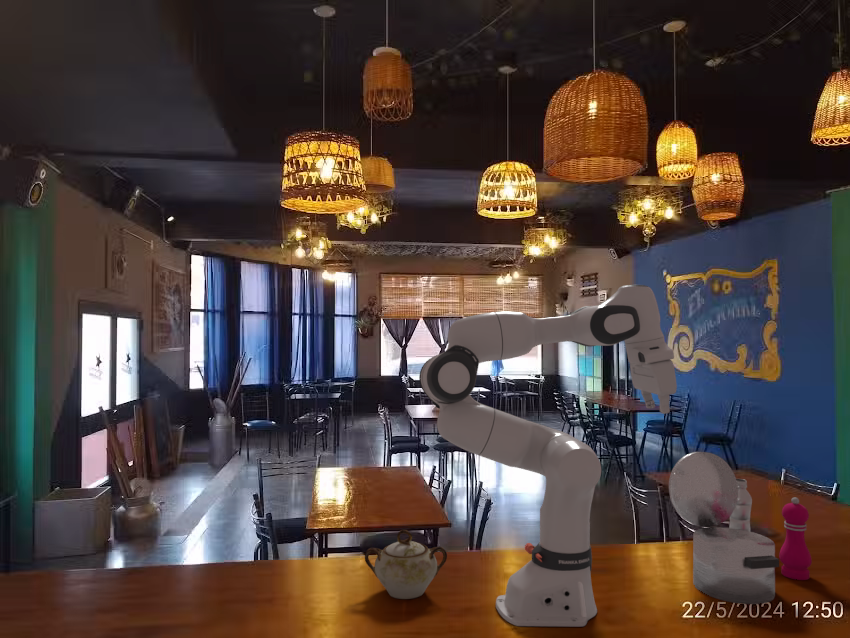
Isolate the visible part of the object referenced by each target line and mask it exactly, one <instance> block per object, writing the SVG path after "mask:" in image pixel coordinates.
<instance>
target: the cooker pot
mask: <svg viewBox="0 0 850 638" xmlns="http://www.w3.org/2000/svg"><path fill="white" fill-rule="evenodd" d="M750 531H751V530H750ZM750 531H745V530H740V529H733V528H729V527H719V526H718V527H717V526H712V527H699V529H697V530H695V531H694V532H693V535H692V536H693V537H692V539H693V540H692V543H693V544H692V546H693V548H692V550H693V551H692V552H693V553H692V557H693V558H692V560H693V561H692V562H693V565H692V566H693V567H692V574H693V575H692V579H693V580H692V583H693V586H694V585H695V586H694V587H695V588H696V589H697V590H698V591H699V590H700V591H699V592H701V591H702V592H703V594H704V593H705V594H704V595H706V594H707V595H706V596H708V595H709V596H708V597H710V598H711V597H712V598H715V599H717V600H721V601H725V602H728V603H735V604H741V603H742V604H743V605H760V603H761V604H766V603H770V602H772V601H773V600H774V599H775V597H776V568H779V567H780V558H777V557H776V544H775V542H774V541H773V540H772V539H770V538H769V537H767V536H766V535H763V534H759V533H757V532H754V531H751V532H750ZM702 592H701V593H702Z"/></svg>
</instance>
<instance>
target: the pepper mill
mask: <svg viewBox="0 0 850 638" xmlns="http://www.w3.org/2000/svg"><path fill="white" fill-rule="evenodd" d="M809 514H810V513H809V511H808V508H807V507H806V506H804V505H803V504H801V503H800V499H799V497H792V498H791V502H789V503H786V504H784V506H783V507H782V509H781V515H782V517H783V519H784V522H783V523H784V525H783V526H784V528H785V530H786V533H785V539H784V542H783V543H782V546H781V548H780V551H779V554H778V555H779V556H778V557H779V558H778V559H779V561H780V562H781V563H782V564H783V565H781V570H780V571H781V575H783V576H784V577H785V578H787V579H791V580H796V579H797V580H796V581H806V580H807V581H808V580H809V579H810V570H809V569H808V568H809V567H811V565H812V561H813V560H812V555H811V553H810V550H809V549H808V546H807V544H806V540H805V531H807V523H806V522H807V521H808V520H809V517H810V515H809Z"/></svg>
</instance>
